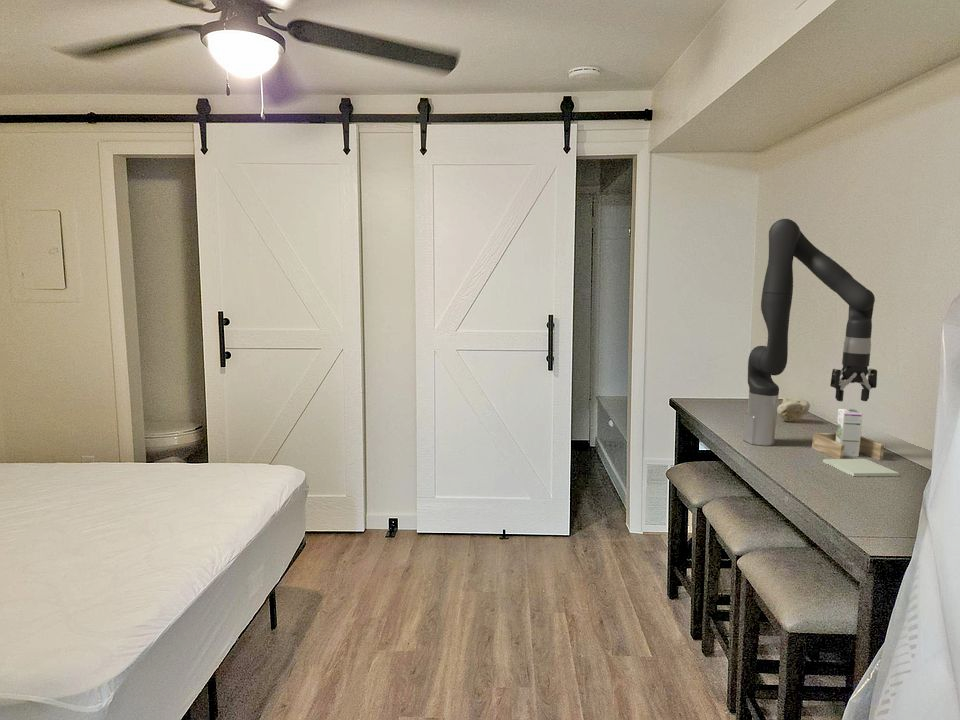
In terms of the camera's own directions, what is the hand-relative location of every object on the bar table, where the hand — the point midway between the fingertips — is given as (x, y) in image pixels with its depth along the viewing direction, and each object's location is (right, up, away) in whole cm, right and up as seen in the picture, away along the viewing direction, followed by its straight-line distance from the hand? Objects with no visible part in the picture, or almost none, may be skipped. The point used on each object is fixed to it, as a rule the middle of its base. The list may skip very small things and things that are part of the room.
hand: (851, 400), depth 206 cm
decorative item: (+3, -12, +46) cm, 48 cm away
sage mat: (-6, -20, -14) cm, 25 cm away
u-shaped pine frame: (-1, -17, +2) cm, 18 cm away
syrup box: (-1, -18, +2) cm, 18 cm away
